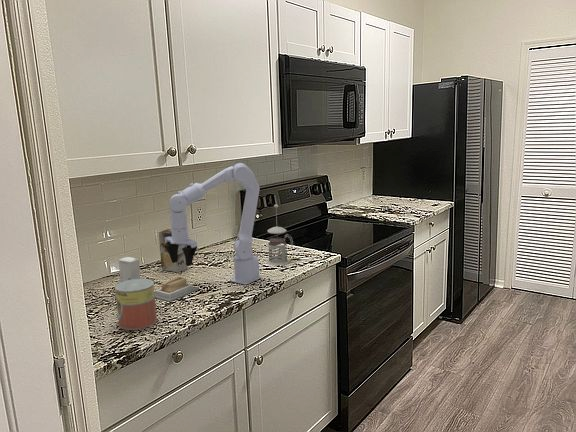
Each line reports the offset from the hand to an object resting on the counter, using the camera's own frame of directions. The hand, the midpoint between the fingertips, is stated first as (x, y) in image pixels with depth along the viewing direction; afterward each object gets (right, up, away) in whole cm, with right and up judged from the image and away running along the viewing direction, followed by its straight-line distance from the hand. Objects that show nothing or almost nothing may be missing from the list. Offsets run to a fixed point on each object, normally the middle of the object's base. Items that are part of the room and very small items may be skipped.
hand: (182, 263), depth 173 cm
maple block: (-1, -9, -6) cm, 11 cm away
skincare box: (-18, -10, -3) cm, 20 cm away
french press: (+35, -2, +28) cm, 45 cm away
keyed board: (-1, -10, -6) cm, 11 cm away
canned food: (-7, -15, -29) cm, 33 cm away
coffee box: (-8, -5, +21) cm, 23 cm away
